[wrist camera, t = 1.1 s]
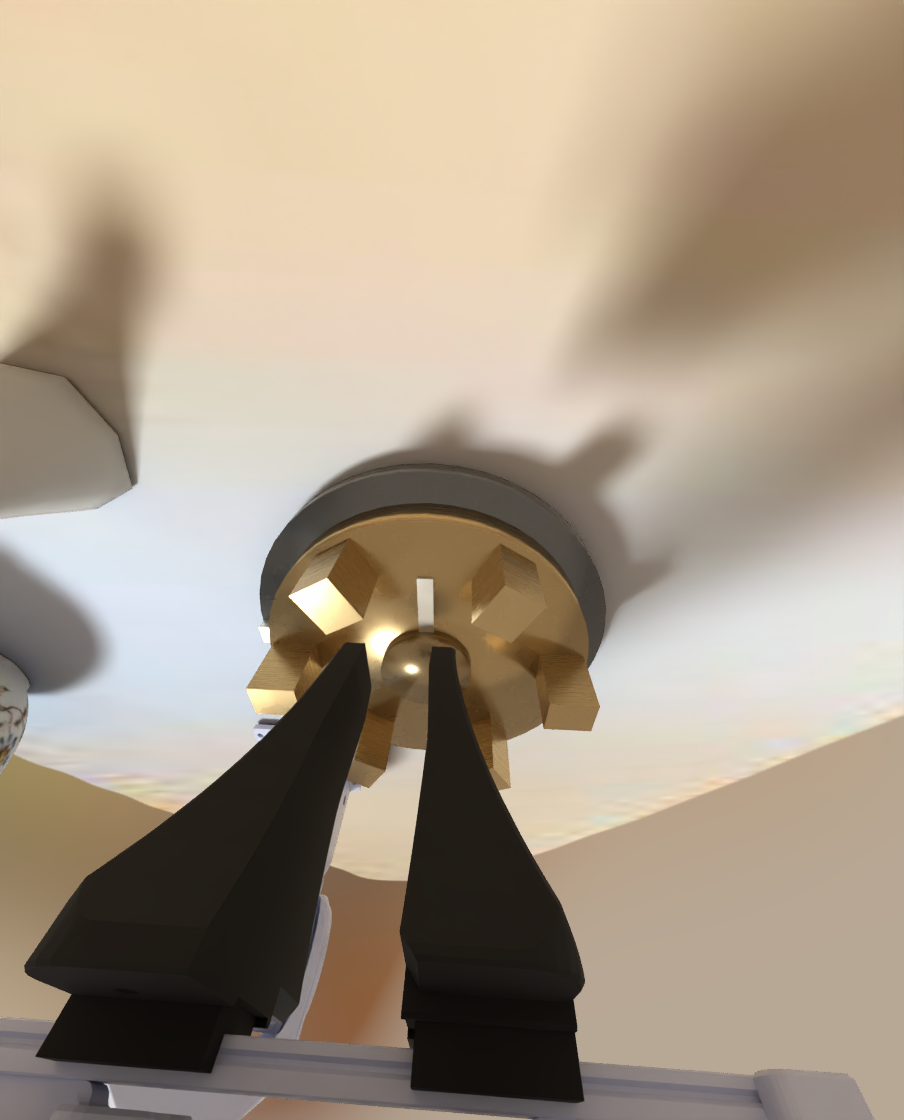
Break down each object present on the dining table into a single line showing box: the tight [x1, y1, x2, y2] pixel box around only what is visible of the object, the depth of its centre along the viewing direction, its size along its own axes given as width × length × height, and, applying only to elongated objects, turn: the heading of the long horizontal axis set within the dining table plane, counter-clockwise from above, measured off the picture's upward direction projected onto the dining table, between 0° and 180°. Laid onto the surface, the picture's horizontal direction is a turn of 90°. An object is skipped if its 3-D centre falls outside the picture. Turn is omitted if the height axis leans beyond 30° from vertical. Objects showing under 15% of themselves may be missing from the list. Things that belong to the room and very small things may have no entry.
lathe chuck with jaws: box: [246, 503, 600, 790], centre depth 21 cm, size 18×18×5 cm
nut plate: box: [259, 464, 606, 668], centre depth 24 cm, size 21×21×2 cm
